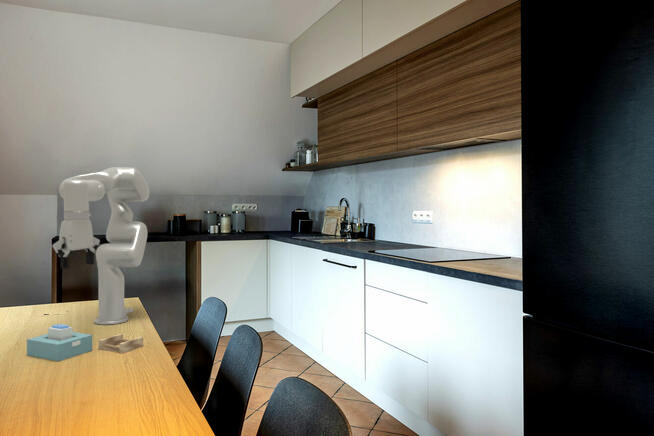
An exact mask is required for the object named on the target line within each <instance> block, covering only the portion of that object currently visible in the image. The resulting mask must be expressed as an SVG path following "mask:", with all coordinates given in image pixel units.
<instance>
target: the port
mask: <svg viewBox="0 0 654 436" xmlns="http://www.w3.org/2000/svg"><path fill="white" fill-rule="evenodd" d="M91 351H93V334H88V333H83V332H77V331H73V338H69V339H66V340H62V341H58V340H52V339H48V333H45V334H41V335H39V336H34V337H31V338H26V356H29V357H32V358H33V357H35V358H40V359H44V360H49V361H54V362H61V361H64V360H66V359H70V358H73V357H75V356H79V355H83V354H85V353H86V354H87V353H89V352H91Z"/></svg>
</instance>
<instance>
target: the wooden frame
mask: <svg viewBox="0 0 654 436" xmlns="http://www.w3.org/2000/svg"><path fill="white" fill-rule="evenodd" d="M143 346H144V337H143V336H139V337H136V338H132V339H125V338H124V334H123V333H119V334H115V335H112V336H109V337H105V338H102V339H98V350H99V351H102V350H103V351H109V352H115V353H119V354H124V353H127V352H130V351H134V350H136V349H138V348H141V347H143Z"/></svg>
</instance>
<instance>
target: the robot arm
mask: <svg viewBox="0 0 654 436" xmlns="http://www.w3.org/2000/svg"><path fill="white" fill-rule="evenodd" d="M58 191H59V196H60V197H61V198H62V199H63V218H64V219H63V220H62V221H61V224H60V228H59V237H58V238H59V239H58V240H57V241H56V242H54V243H53V244H52V248H53V249H54V252H55V254H57V255H58V257H59V258H60V259H59V260H60V264H59V265H60V269H64V270H68V269H70V258H69V254H70V252H71V251H81V250H85V264H86V265H90V266H91V265H95V260H96V266H97V270H98V272H97V273H98V274H97V275H98V276H97V277H98V311H97V312H98V317H96V318H94V320H93V322H94V324H95V325H104V326H105V325H109V326H110V325H117V324H123V323H126V322H128V321H129V316H128V314H130V313H133V312H134V308H133V307H129V308H126V307H125V276H124V274H123V271H121V269H120V268H135V267H139V266H140V265H141V264H142V262H143V261H142V260H143V258H144V253H145V250H146V245H147V239H148V228H147V225H146V224H145V223H144V222H141V221H133V218H134V213H133V211H132V210H131V208H130V207H129V206H128V205H127V204H126V203H125V202H128V203H129V202H131V203H133V202H134V203H135V202H138V203H140V202H142V203H143V202H146V201H147V200H148V199H149V197H150V188H149V184H148V183H147V181H146V180H145V177H144V176H143V174H142V173H141V171H139V170H138V169H137V168H136V167H134V166H133V167H132V166H130V167H129V166H128V167H127V166H112V167H108V168H105V169H103V170H100V171H98V172H92V173H91V172H90V173H87V174H81V175H80V174H79V175H75V176H71V177H68V178H65V179H64V180H63V181H62V182H61V184H60V186H59V188H58ZM105 194H106V195H107V200H108V202H109V205H110V210H111V214H110V218H109V222H108V226H107V229H106V232H105V238H106V240H107V242H108V243H103V244H101V245H99V244H100V242H101V240H100V239H99V238H97V237H95V236H94V233H93V224H92V221H91V219H90V217H91V215H92V213H91V212H90V203H89V202H96V201H97V202H98V201H100V200H102V199H103V198H104V197H105ZM127 320H128V321H127Z"/></svg>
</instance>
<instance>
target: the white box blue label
mask: <svg viewBox="0 0 654 436" xmlns="http://www.w3.org/2000/svg"><path fill="white" fill-rule="evenodd" d="M73 329H74V328H73V326H70V325H67V324H63V323H61V324H60V323H58V324H54V325H51V326H50V327H47V334H48V339H52V340H58V341H62V340H66V339H69V338H73V332H74V331H73Z"/></svg>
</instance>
